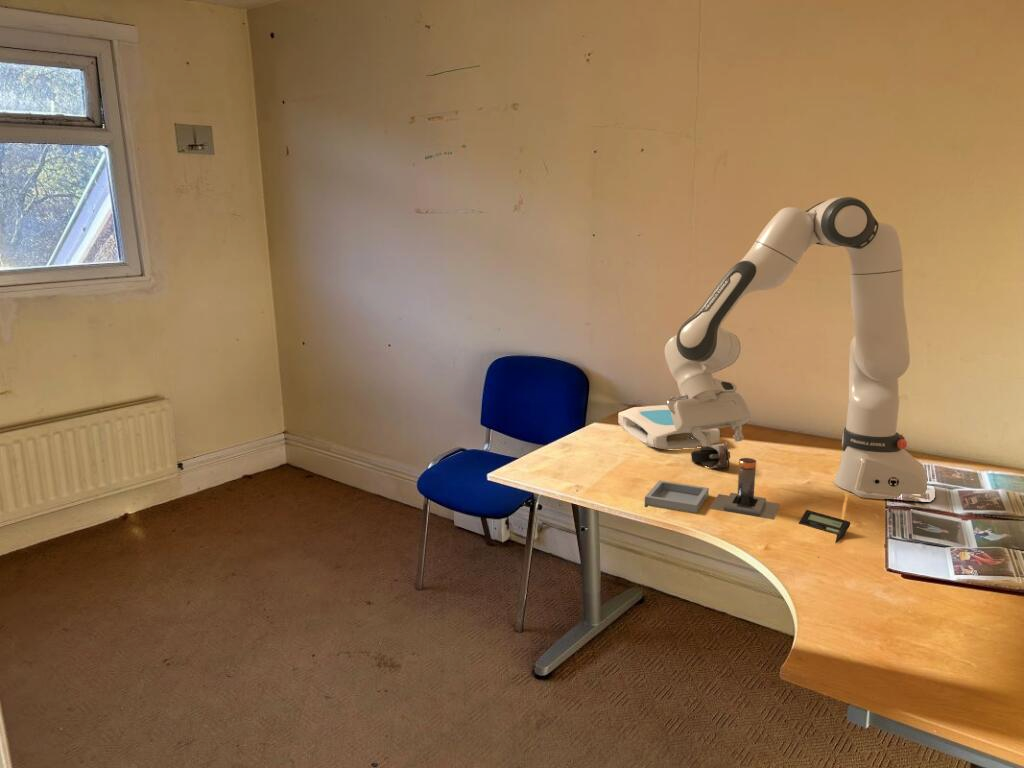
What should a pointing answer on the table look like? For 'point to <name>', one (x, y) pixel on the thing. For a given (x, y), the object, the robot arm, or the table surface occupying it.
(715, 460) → the caster wheel
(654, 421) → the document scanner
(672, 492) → the tray
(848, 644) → the table surface
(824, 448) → the table surface
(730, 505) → the collar plate
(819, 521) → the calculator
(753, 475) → the pin
